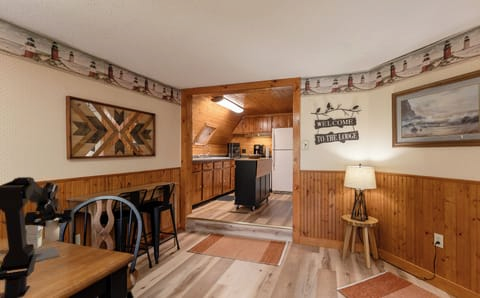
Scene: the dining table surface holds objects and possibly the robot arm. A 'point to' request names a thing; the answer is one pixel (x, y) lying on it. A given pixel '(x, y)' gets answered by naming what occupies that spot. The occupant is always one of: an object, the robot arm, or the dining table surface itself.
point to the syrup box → (34, 235)
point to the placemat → (46, 254)
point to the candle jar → (52, 230)
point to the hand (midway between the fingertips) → (53, 225)
